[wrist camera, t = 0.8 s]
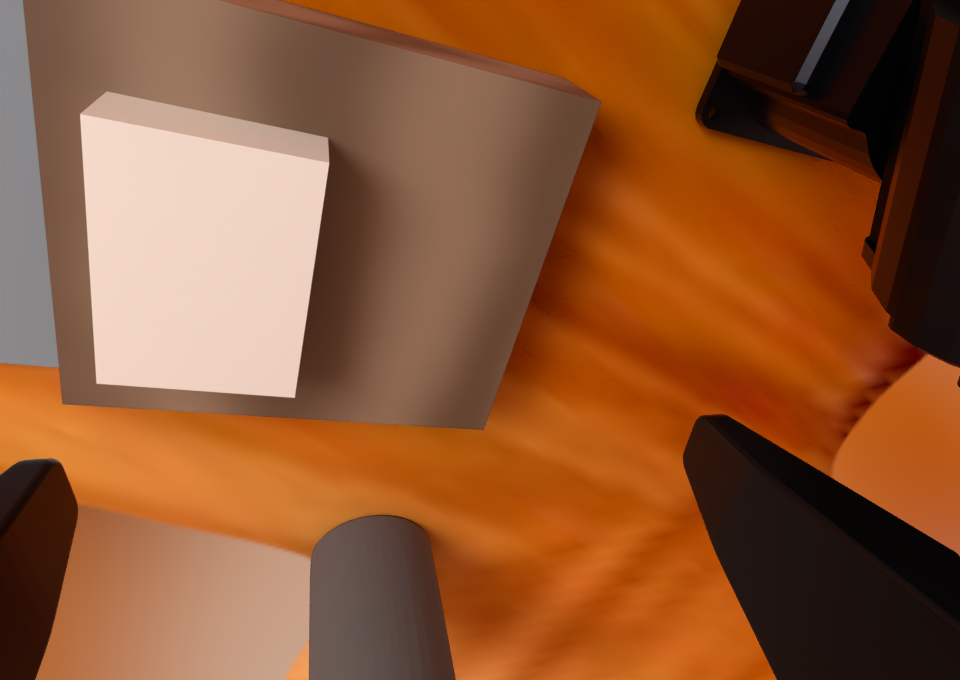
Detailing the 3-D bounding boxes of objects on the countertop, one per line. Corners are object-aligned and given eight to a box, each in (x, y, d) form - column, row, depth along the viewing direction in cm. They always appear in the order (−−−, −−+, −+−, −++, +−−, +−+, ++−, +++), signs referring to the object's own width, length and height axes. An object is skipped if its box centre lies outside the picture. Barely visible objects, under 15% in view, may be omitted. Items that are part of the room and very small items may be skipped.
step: (565, 78, 19) (601, 101, 17) (467, 380, 25) (483, 429, 23) (66, -59, 15) (17, -54, 12) (91, 347, 21) (62, 404, 18)
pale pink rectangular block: (328, 137, 16) (329, 162, 14) (296, 357, 19) (295, 397, 18) (107, 91, 14) (79, 113, 12) (116, 341, 18) (96, 383, 16)
